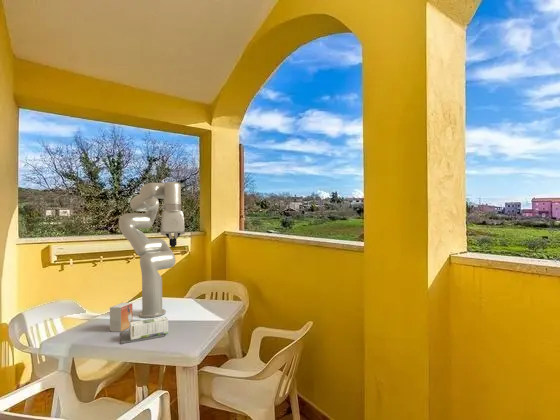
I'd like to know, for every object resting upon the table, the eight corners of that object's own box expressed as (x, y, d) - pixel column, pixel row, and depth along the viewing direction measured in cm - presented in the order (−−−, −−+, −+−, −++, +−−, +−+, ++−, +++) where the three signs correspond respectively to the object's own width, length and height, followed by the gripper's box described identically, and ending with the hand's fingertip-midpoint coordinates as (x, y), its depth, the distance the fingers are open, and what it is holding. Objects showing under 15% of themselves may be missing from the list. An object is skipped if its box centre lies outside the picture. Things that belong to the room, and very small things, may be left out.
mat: (121, 332, 137) (121, 331, 137) (161, 326, 144) (161, 325, 144) (121, 344, 124) (121, 342, 124) (164, 336, 131) (164, 335, 131)
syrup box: (166, 329, 138) (129, 336, 131) (165, 315, 139) (128, 322, 131) (168, 333, 133) (130, 340, 126) (168, 319, 134) (130, 325, 126)
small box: (120, 332, 138) (120, 307, 138) (109, 331, 139) (109, 307, 139) (132, 326, 146) (132, 302, 146) (122, 325, 147) (122, 302, 147)
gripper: (156, 208, 145) (156, 248, 144) (190, 208, 151) (190, 246, 151) (155, 208, 152) (155, 247, 151) (187, 208, 158) (187, 245, 158)
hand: (173, 247), depth 151 cm, fingers closed
